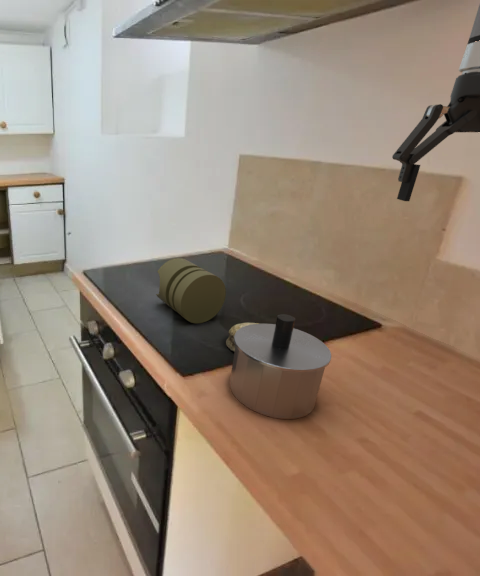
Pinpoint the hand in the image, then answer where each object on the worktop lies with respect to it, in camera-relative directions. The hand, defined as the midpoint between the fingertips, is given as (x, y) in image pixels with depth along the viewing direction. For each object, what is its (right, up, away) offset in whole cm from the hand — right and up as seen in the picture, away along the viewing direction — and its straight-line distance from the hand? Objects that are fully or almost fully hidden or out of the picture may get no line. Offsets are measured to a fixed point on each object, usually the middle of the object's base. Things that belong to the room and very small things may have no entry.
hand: (443, 201), depth 71 cm
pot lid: (-37, -25, -13) cm, 47 cm away
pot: (-37, -33, -10) cm, 51 cm away
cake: (-35, -28, +3) cm, 45 cm away
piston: (-44, -22, +17) cm, 52 cm away
